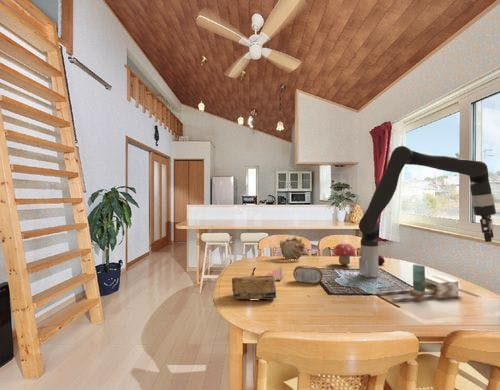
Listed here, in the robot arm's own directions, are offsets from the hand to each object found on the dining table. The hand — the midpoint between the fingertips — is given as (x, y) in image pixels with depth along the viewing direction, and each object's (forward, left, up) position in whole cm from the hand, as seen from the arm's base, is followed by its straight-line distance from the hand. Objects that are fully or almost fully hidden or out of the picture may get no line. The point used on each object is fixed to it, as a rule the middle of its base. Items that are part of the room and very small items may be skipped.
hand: (489, 239), depth 120 cm
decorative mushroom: (-35, +62, -26) cm, 76 cm away
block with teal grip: (-29, +3, -24) cm, 37 cm away
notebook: (-89, +54, -26) cm, 108 cm away
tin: (-73, +34, -26) cm, 85 cm away
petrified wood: (-105, +20, -26) cm, 110 cm away
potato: (-11, +61, -26) cm, 67 cm away
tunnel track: (-30, +3, -25) cm, 39 cm away
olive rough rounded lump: (-63, +84, -26) cm, 109 cm away
